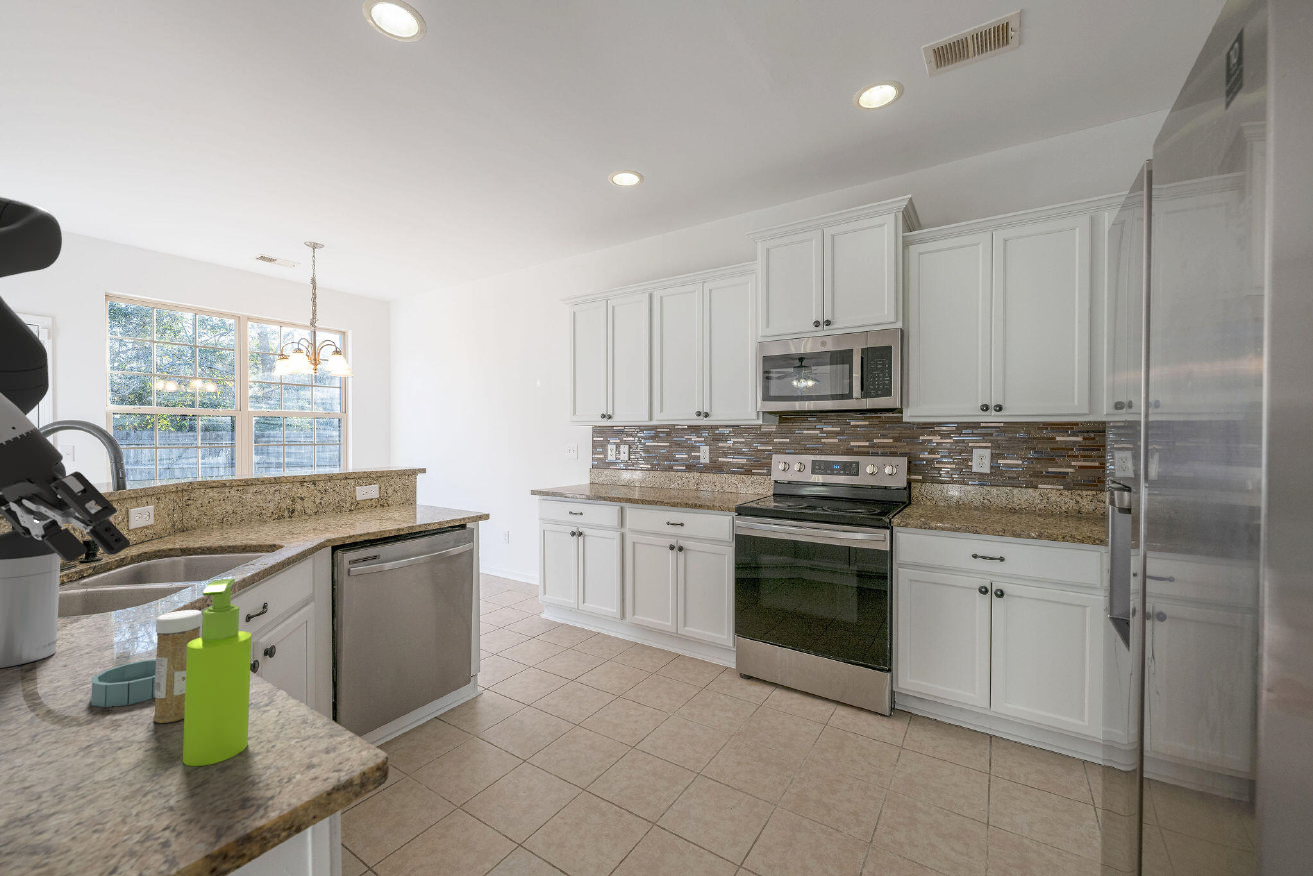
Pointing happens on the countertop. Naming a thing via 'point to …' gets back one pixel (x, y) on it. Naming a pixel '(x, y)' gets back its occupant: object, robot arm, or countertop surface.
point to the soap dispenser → (217, 683)
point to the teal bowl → (124, 684)
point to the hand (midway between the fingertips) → (98, 553)
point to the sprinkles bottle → (173, 662)
